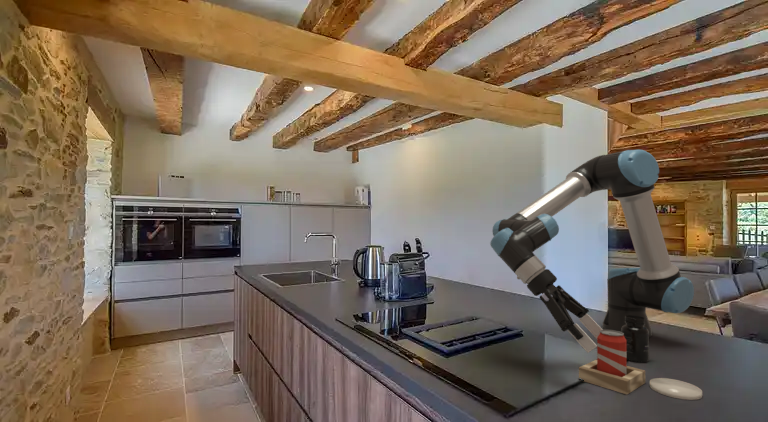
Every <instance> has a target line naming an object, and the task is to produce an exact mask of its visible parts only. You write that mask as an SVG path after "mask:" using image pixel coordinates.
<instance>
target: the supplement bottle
mask: <svg viewBox="0 0 768 422" xmlns="http://www.w3.org/2000/svg"><path fill="white" fill-rule="evenodd" d="M625 323H626V324H625V325H623V326H622V328H621V332H622V333H624V337H625V339H626V350H627V361H629V362H634V363H647V362H648V361H649V360H650V337H649V331H648V329H647V328H645V327H644V325H645V318H643V317H639V316H631V315H628V316H625Z"/></svg>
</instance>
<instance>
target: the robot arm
mask: <svg viewBox="0 0 768 422" xmlns="http://www.w3.org/2000/svg"><path fill="white" fill-rule="evenodd" d="M659 174H660V168H659V164H658V161H657V160H656V157H654V156H653V155H652V154H651V153H650V152H647V151H646V150H645V149H644V150H643V149H627V150H623V151H618V152H613V153H607V154H602V155H598V156H595V157H593V158H590V159H589V160H587V161H586V162H583V164H581V165H579V166H577V167H576V168H575V169H574V170H572V171H570V172H569V173H568V174H567V175H566V176H565V179H564V180H563V181H561V182H559V184H557V185H555V186H554V187H552V188H551V189H549V190H548V191H547V192H545V193H544V194H542V195H541V196H539V197H538V198H536V199H535V200H534V201H532V202H530V203H529V204H527V205H526V206H525V207H523V208H522V209H520V210H519V211H518V212H516V213H515V214H513V215H512V216H510V217H509V218H507V219H506V218H503V219H500V220H497V221H495V223H494V224H493V226H492V231H491V232H492V235H493V237H492V238H491V240H490V242H489V244H490V247H491V248H492V250H493V251H494V252H495V254H496V255H497V256H498V257H499V258H500V259H501V260H502V261H503V262H504V263H505V265H507V267H508V268H509V269H510V270H511V271H512V272H513V273H514V274H515V275H516V279H517V280H520V281H521V282H522V283H523V284H525V285H526V284H527V285H526V287H527V290H529V292H531V293H532V295H533V296H535V297H537V296H539V298H538V299H540V300H541V302H542V303H543V304H544V305H545V308H547V310H548V311H549V313H550V314H551V316H552V317H553V319H554V321H555V322H556V324H557V325H558V326H559V328H560V329H561V331H562V332H564V333H565V332H566V331H567V332H568V333H569V334H570V335H571V336H572V337H573V339H575V340H576V342H577V343H578V344H579V345H580V346H581V347H582V349H584V350H585V352H586V353H587V354H588V353H590V352H592V351H593V350H594V349H596V348H597V344H596V342H594V340H593V339H592V338H591V337H590V336H589V334H587V333H586V332H585V330H583V328H581V326H580V325H579V324H578V323H576V322H574V320H573V318H572V316H571V315H570V314H569V312H570V313H571V314H573V315H574V316H576V317H577V318H579V319H578V320H579V322H580V323H581V324H582V325H583V326H584V327H585V328H586V329H587V330H588V332H590V333H591V335H592V336H593V337H594V338H595V339H596V340H597V337H598V336H599V334H600V331H601V330H615V331H619V332H621V328H622V326H623V325H625V324H626V323H625V316H628V315H631V316H639V317H643V318H645V325H644V327H645V328H647V329H648V331H649V338H651V337H652V335H653V333H652V332H653V329H652V327H651V326H652V325H651V324H650V321H649V318H648V315H647V313H646V312H647V311H646V310H647V309H652V310H658V311H662V312H664V313H669V314H670V313H672V314H680V313H684V312H685V311H686V310H688V308H689V307H690V306H691V304H692V302H693V300H694V295H695V288H694V284H693V282H692V281H691V279H689V278H688V277H685V276H681V272H680V268H679V267H678V266H676V265H675V264H673V263H672V261H671V259H670V255H669V253H668V249H667V245H666V242H665V238H664V235H663V232H662V228H661V225H660V224H661V223H660V222H659V219H658V214H657V212H656V208H655V205H654V202H653V197H652V192H653V191H654V190H655V183H656V182H657V181H658V179H659ZM605 190H607V191H608V190H611V194H612V197H613V198H614V199H616V200H618V201H619V203H620V205H621V209H622V212H623V216H624V219H625V222H626V225H627V229H628V232H629V236H630V239H631V241H632V245H633V248H634V251H635V254H636V255H635V256H636V258H637V260H638V264H639V267H621V268H619V267H617V268H616V267H615V268H614V267H613V268H610V269H608V273H607V280H606V282H607V311H606V312H605V315H604V318H603V322H602V327H601V326H600V324H598V322H596V321H595V320H594V318H593V317H591V315H589V314H588V313H589V312H590V309H589V308H587V307H585V306H583V305H582V304H581V303H580V301H578V300H576V299H575V298H574V297H573V296H572V295H570V294H569V293H568V292H567V291H566V290H565V289H564V288H563V287H562V286H561V285H558V284H557V286H556V285H554V284H555V282H557V280H558V278H557V276H555V274H554V273H553V272H552V271H551V270H550V269H548V268H547V269H546V265H545V264H544V262H542V260H541V259H539V257H538V256H537V255H536V254H534V252H535V251H536V250H538V249H540V247H542V246H544V245H546V244H547V243H549V242H551V241H552V239H553V238H555V237H556V236H557V235H558V234H559V231H560V227H559V224H558V222H557V220H556V219H555V218H554V216H555V215H557V214H558V213H560V212H562V211H563V210H564V209H565V208H567V207H568V206H570V205H571V204H572V203H574V202H575V201H576V200H578V199H579V198H585V197H587V196H589V195H590V194H592V193H595V192H598V191H605ZM646 308H647V309H646Z"/></svg>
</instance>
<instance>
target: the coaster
mask: <svg viewBox="0 0 768 422" xmlns="http://www.w3.org/2000/svg"><path fill="white" fill-rule="evenodd" d="M649 388H650V389H652V391H654V392H656V393H657V394H661V395H663V396H666V397H669V398H674V399H678V400H685V401H686V400H687V401H696V400H701V399H702V398H703V390H702V389H701V388H699V387H698V386H697V385H694V384H692V383H689V382H686V381H682V380H679V379H674V378H667V377H656V378H651V379H649Z"/></svg>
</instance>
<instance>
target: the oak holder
mask: <svg viewBox="0 0 768 422" xmlns="http://www.w3.org/2000/svg"><path fill="white" fill-rule="evenodd" d="M579 378H581V379H583V380H584V381H583V382H585V383H588V384H591V385H595V386H598V387H602V388H604V389H608V390H612V391H615V392H618V393H621V394H624V395H630V394H631V393H632V392H634V391H635V390H637V389H638V388H640V387H642V386H643V385H645V384H646V370H644V369H642V368H641V369H640V368H637V367H632V366H629V365H627V375H625V376H623V377H619V376H616V375H612V374H609V373H605V372H602V371H598V370H597V359H595V360H592V361H590V362H588V363H586V364H584V365H581V366H579V367H578V379H579Z"/></svg>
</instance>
